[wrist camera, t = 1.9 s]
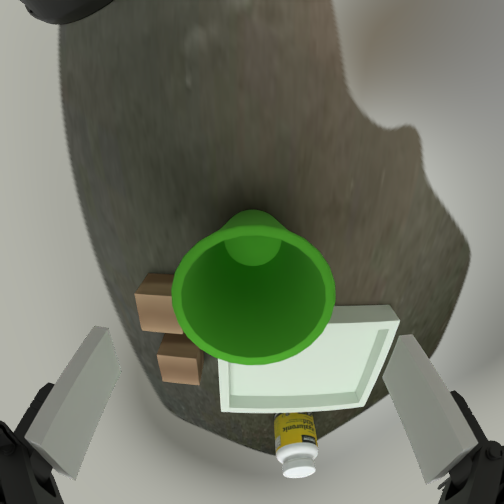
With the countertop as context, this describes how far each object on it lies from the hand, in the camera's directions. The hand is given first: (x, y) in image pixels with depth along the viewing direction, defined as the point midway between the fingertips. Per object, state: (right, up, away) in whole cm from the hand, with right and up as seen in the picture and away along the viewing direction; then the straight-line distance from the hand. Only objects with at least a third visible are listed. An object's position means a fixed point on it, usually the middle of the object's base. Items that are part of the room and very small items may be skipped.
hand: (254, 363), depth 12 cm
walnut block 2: (-8, -6, +19) cm, 21 cm away
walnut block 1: (-8, +1, +16) cm, 18 cm away
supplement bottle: (+6, -18, +24) cm, 30 cm away
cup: (0, +6, +14) cm, 15 cm away
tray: (+5, -7, +19) cm, 21 cm away
